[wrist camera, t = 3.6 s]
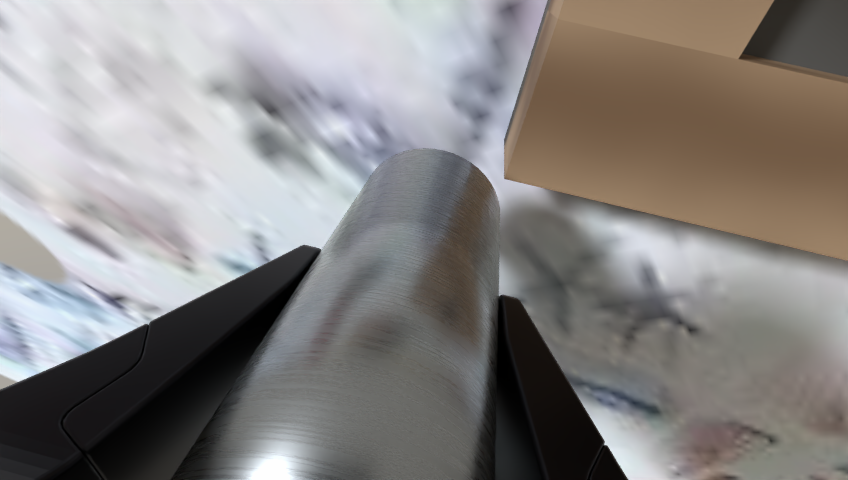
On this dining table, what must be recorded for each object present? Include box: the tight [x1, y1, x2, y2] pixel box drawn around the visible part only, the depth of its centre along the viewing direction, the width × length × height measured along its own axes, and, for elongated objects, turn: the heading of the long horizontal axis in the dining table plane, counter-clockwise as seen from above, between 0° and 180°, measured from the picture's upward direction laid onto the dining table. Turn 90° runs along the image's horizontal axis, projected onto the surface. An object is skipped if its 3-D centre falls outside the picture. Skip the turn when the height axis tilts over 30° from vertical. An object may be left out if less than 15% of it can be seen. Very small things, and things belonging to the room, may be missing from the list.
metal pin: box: [170, 149, 500, 480], centre depth 7 cm, size 4×4×10 cm
